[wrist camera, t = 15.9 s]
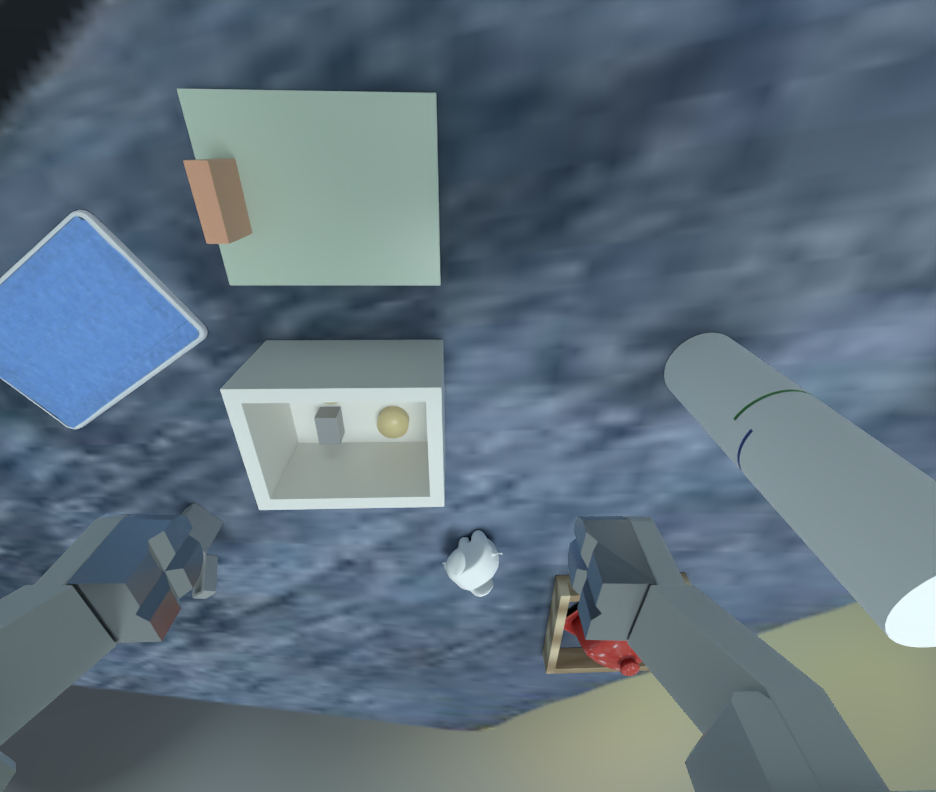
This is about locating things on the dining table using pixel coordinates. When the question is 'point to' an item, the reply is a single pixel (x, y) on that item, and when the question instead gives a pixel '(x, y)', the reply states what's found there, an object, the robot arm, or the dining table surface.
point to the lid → (317, 184)
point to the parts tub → (341, 423)
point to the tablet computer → (87, 322)
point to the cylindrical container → (821, 480)
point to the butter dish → (605, 649)
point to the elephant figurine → (473, 564)
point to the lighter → (204, 547)
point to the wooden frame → (552, 653)
